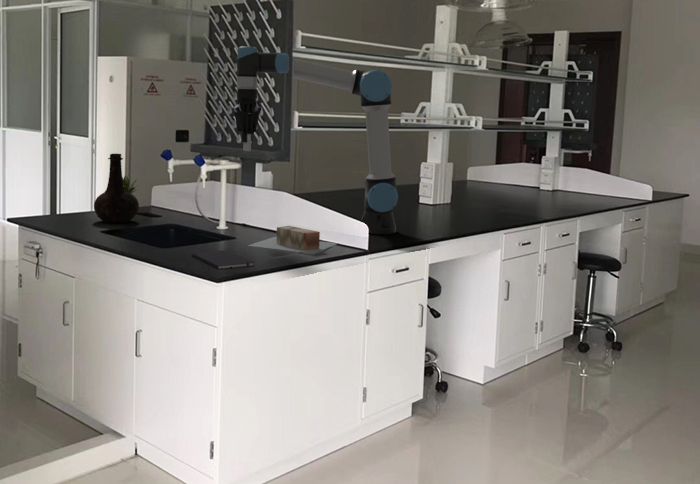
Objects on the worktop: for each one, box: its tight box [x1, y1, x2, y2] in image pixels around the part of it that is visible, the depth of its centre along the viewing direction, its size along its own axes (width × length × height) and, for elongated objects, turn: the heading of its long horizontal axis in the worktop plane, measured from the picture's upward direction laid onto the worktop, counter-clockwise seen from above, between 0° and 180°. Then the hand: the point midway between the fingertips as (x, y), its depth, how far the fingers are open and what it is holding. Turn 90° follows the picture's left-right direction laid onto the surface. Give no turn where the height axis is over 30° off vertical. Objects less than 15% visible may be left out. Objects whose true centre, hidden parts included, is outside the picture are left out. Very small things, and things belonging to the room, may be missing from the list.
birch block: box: [276, 225, 321, 250], centre depth 281 cm, size 6×6×16 cm
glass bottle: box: [93, 153, 140, 224], centre depth 319 cm, size 18×18×28 cm
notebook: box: [191, 249, 254, 270], centre depth 255 cm, size 13×2×21 cm
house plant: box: [122, 174, 138, 195], centre depth 355 cm, size 14×14×16 cm
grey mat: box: [247, 235, 338, 256], centre depth 284 cm, size 22×26×1 cm
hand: (247, 150), depth 300 cm, fingers closed
